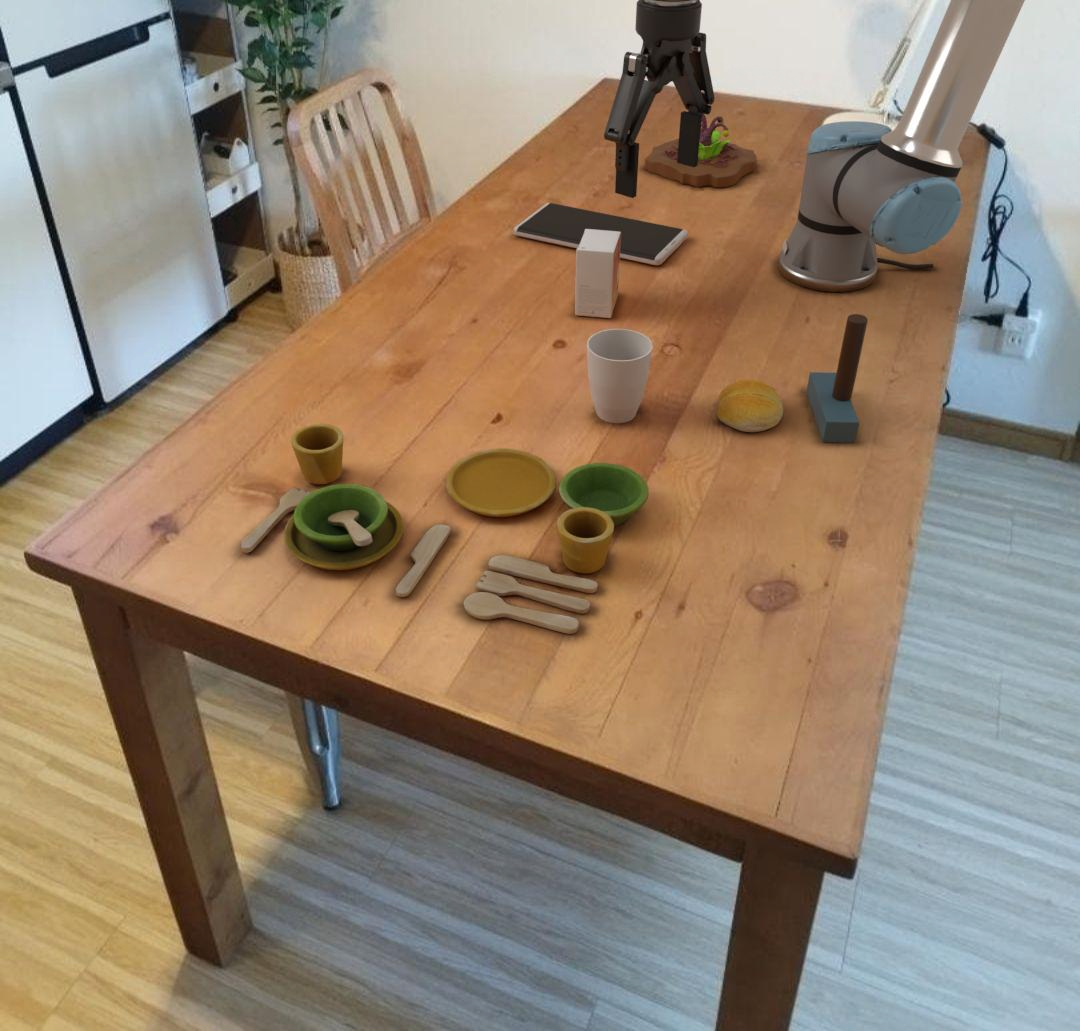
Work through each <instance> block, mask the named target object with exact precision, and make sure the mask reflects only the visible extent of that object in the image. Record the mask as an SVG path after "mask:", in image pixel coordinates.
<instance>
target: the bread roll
mask: <svg viewBox="0 0 1080 1031" xmlns="http://www.w3.org/2000/svg"><path fill="white" fill-rule="evenodd" d="M716 414H717V417H718V420H719V421H720V422H721V423H723V424H724V425H725V426H728V427H730V428H733V429H734V430H737V431H740V432H746V433H757V432H763V431H767V430H769V429H772V428H774V427H775V426H777V425H778V424H779V423H780V421H781V420H782V418H783V415H784V406H783V401H782V398H781V396H780V394H778V392H777V391H776V389H775V388H774V387H773V386H772V385H770V384H768V383H766V382H764V381H762V380H758V379H751V378H749V379H747V378H746V379H741V380H737V381H734V382H732V383H730V384H728V385H727V386H726V387H724V388H723V389H722V391H721V392H720V394H719V396H718V408H717V411H716Z"/></svg>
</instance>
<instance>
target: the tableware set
mask: <svg viewBox="0 0 1080 1031" xmlns="http://www.w3.org/2000/svg"><path fill="white" fill-rule="evenodd" d="M290 444H291V446H292V450H293V452H294V455H295V458H296V460H297V463H298V466H299V469H300V471H301V474H302V477H303V478H304V480H305V481H307V482H308V483H310V484H313V485H326V484H330V483H332V482H334V481H336V480H337V479H340V477H341V475H342V471H343V457H344V456H343V454H344V433H343V431H342V430H341V429H340V428H338V427H337V426H335V425H333V424H328V423H316V424H315V423H314V424H310V425H306V426H304V427H301V428H299V429H297V430H296V431H294V432H293V434H292V436H291V439H290ZM556 486H557V476H556V473H555V471H554V469H553V468H552V466H551V465H550V464H549V463H548V462H547V461H545V460H544V459H543V458H541V457H539V456H538V455H536V454H533V453H531V452H527V451H525V450H520V449H515V448H490V449H484V450H479V451H476V452H473V453H470V454H468V455H466V456H464V457H462V458H461V459H459V460H458V461H456V462H455V463H454V464H453V465H452V466H451V467H450V469H449V470H448V472H447V474H446V477H445V487H446V491H447V492H448V495H449V496H450V497H451V498H452V500H454V502H456V503H457V504H458V505H460V506H461V507H463V508H464V509H466V510H468V511H471V512H472V513H475V514H478V515H481V516H485V517H492V518H494V517H495V518H506V517H514V516H515V517H516V516H519V515H522V514H526V513H528V512H531V511H532V510H534V509H536V508H538V507H539V506H541V505H543V504H544V503H545V502H546V501H548V500H549V498H550V497H551V496H552V495H553V493H554V492H555V489H556ZM558 492H559V495H560V498H561V500H562V501H563V503H565V505H566V506H567V507H568V508H569V509H568V510H566V511H564V512H563V513H561V515H559V517H558V519H557V522H556V526H557V534H558V540H559V546H560V551H561V556H562V560H563V564H564V565H565V567H566V568H567V569H569V570H570V571H572V572H574V573H577V574H593V573H596V572H598V571H599V570H601V569H602V568H603V567H604V565H605V563H606V561H607V557H608V553H609V549H610V546H611V541H612V538H613V534H614V531H615V527H616V526H619V525H621V524H623V523H625V521H627V520H628V519H629V518H630V517H632V515H633V514H634V513H636V512H637V511H638V510H640V509H641V508H642V507H643V506H644V505H645V503H646V502H647V500H648V497H649V492H650V491H649V485H648V483H647V481H646V480H645V479H644V477H643V476H642V475H641V474H639V473H638V472H637V471H635V470H634V469H631V468H629V467H627V466H624V465H621V464H616V463H610V462H592V463H586V464H581V465H579V466H577V467H574V468H572V469H571V470H569V471H567V472H566V473H565V474H564V476H562V478H561V480H560V481H559V485H558ZM291 512H293V515H291V516H290V518H289V519H288V520H287V523H286V525H285V528H284V533H283V536H284V543H285V546H286V547H287V549H288V550H289V552H290V553H291V554H292V555H293V556H294V557H295V558H297V559H298V560H300V561H301V562H303V563H305V564H307V565H310V566H312V567H316V568H319V569H322V570H329V571H348V570H355V569H358V568H363V567H365V566H366V567H367V566H369V565H371V564H373V563H375V562H377V561H378V560H380V559H381V558H383V557H384V556H387V554H389V552H391V551H392V550H393V549H394V548H395V547H396V546H397V544H398V543H399V542H400V539H401V538H402V535H403V532H404V519H403V516H402V515H401V513H400V511H399V510H398V509H397V508H396V507H395V506H394V505H393V504H391V503H390V502H388V501H386V499H385V497H384V496H383V495H382V494H381V493H380V492H378V491H377V490H375V489H373V488H371V487H368V486H365V485H361V484H354V483H339V484H331V485H328V486H324V487H321V488H319V489H316V490H313V491H307V490H306V489H300V488H297V487H293V488H291V489H290V490H288V491H287V492H285V493H284V494H283V495H282V496H281V497H280V498H279V505H278V507H277V508H276V509H274V511H273V512H272V513H270V515H268V516H267V517H266V518H265V519H264V520H263V521H262V522H260V524H258V526H256V527H255V528H254V529H253V530H252V531H250V533H249V534H248V535H246V536H245V537H244V538H242V540H241V552H243V553H247V554H248V553H251V552H252V551H253V550H254V549H256V547H257V546H258V545H259V544H260V543H261V542H262V541H263V540H264V539H265V537H266V536H268V534H269V533H270V532H271V531H272V530H273V529H274V528H275V527H276V525H277V524H278V523H279V522H280V521H281V520H282V519H283V518H284V517H285V516H286V515H287V514H289V513H291ZM451 533H452V527H451V526H450V525H447V524H440V523H439V524H438V523H437V524H435V525H433V526H432V527H431V528H429V529H428V530H427V531H426V532H425V533H424V534H423V536H422V538H421V539H420V540H419V542H418V543H417V545H416V546H415V548H414V549H413V550H412V552H411V554H410V558H411V559H412V561H413V562H414V563H415V564H413V566H412V567H411V568H410V570H409V571H408V572H407V573H406V574H405V576H404V577H403V578H401V580H400V581H399V583H398V584H397V586H396V587H395V595H396V596H397V597H399V598H405V597H408V596H409V595H410V594H411V593H412V592H413V591H414V589H415V587H416V586H417V585H418V583H419V581H420V580H421V579H422V577H423V575H424V574H425V573H426V572H427V570H428V568H429V567H430V565H431V563H432V562H433V561H434V560H435V557H436V556H437V554H438V553H439V551H440V550H441V548H442V547H443V545H444V544H445V543H446V541H447V539H448V538H449V537H450V535H451ZM487 564H488V566H487V567H488V569H489V570H485V571H484V572H483V573H482V576H481V577H480V579H479V581H478V582H477V584H476V585H475V588H476V589H477V590H480V591H479V592H474V593H471V594H469V595H468V596H467V597H465V599H464V600H463V608H464V610H465V611H466V613H467V614H468V615H470V616H471V617H473V618H476V619H479V620H483V621H484V620H495V619H499V618H507V619H512V620H516V621H519V622H523V623H527V624H530V625H534V626H538V627H540V628H545V629H549V630H551V631H555V632H559V633H563V634H567V635H574V634H576V633H577V632H578V631H579V626H580V622H579V620H578V619H577V618H575V617H572V616H569V615H563V614H558V613H552V612H546V611H540V610H535V609H532V608H531V609H530V608H526V607H525V608H524V607H520V606H515V605H511V604H509V603H507V602H505V601H504V600H503V599H502V598H501V597H506V596H520V597H524V598H526V599H530V600H534V601H536V602H539V603H543V604H546V605H549V606H553V607H556V608H558V609H562V610H565V611H569V612H573V613H575V614H576V613H577V614H582V615H583V614H587V613H588V612H589V611H590V610H591V603H590V601H589V600H588V599H586V598H581V597H577V596H573V595H568V594H564V593H559V592H554V591H550V590H545V589H541V588H537V587H533V586H528V585H526V584H521V583H519V582H518V581H517V580H516V579H515V578H514V577H519V578H521V579H527V580H531V581H535V582H539V583H543V584H548V585H551V586H556V587H560V588H563V589H568V590H572V591H576V592H577V591H578V592H581V593H586V594H594V593H595V592H597V590H598V586H599V583H598V582H596V581H595V580H593V579H589V578H584V577H579V576H573V575H567V574H561V573H555V572H552V571H551V569H550V567H549V565H548V564H544V563H540V562H537V561H532V560H529V559H524V558H521V557H515V556H512V555H506V554H499V555H495V556H493V557H491V559H489V561H488V563H487ZM513 576H514V577H513Z"/></svg>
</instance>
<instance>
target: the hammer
mask: <svg viewBox="0 0 1080 1031" xmlns="http://www.w3.org/2000/svg"><path fill="white" fill-rule="evenodd" d="M868 321H869V318H868V317H867V316H866V315H863V314H861V313H860V314H859V313H853V314H852V313H851V314H849V315H848V316H847V318H846V323H845V328H844V333H843V339H842V344H841V347H840V353H839V358H838V364H837V369H836V372H823V371H821V372H818V371H813V372H812V371H810V372H809V374H808V381H807V386H806V395H807V398H808V401H809V404H810V408H811V409H812V410H811V411H812V413H813V416H814V419H815V423H816V426H817V429H818V432H819V435H820V438H821V441H822V443H848V444H849V443H854V444H855V443H856V439H857V435H858V431H859V427H860V426H859V425H860V420H859V418H858V416H857V412H856V411H855V408H854V405H853V403H852V397H853V392H854V388H855V384H856V383H855V382H856V378H857V373H858V369H859V364H860V359H861V354H862V349H863V345H864V340H865V336H866V330H867V326H868Z"/></svg>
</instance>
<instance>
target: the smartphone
mask: <svg viewBox="0 0 1080 1031" xmlns="http://www.w3.org/2000/svg"><path fill="white" fill-rule="evenodd" d="M585 229H594V230H606V231H618V232H621V247H620V259H623V260H629V261H633V262H638V263H642V264H648V265H651V266H660V265H662V264H663V263H664V262H666V260H667V259H668V258H669V257H670V256H671V255H672V254H673V253H674V252H675V251H676V250H677V249H678V248H679V247H680V246H681V245H682V244H683V243H684V242H685V241H686V240H687V239H688V237H689V232H688V231H689V230H687V229H684V228H680V227H674V226H669V225H664V224H659V223H654V222H648V221H644V220H639V219H634V218H628V217H624V216H620V215H619V216H618V215H614V214H608V213H604V212H599V211H594V210H589V209H584V208H578V207H573V206H568V205H563V204H559V203H553V202H547V203H544V205H542V206H541V207H539V208H538V209H537V210H535V211H534V212H533V213H531V214H530V215H529V216H528V217H526V218H525V219H524V220H522V221H520V223H518V224H517V225H515V226H514V227H513V234H514V236H517V237H522V238H526V239H531V240H534V241H540V242H543V243H549V244H554V245H559V246H563V247H568V248H572V249H577V248H578V246H579V244H580V242H581V239H582V237H583V234H584V231H585Z"/></svg>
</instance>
